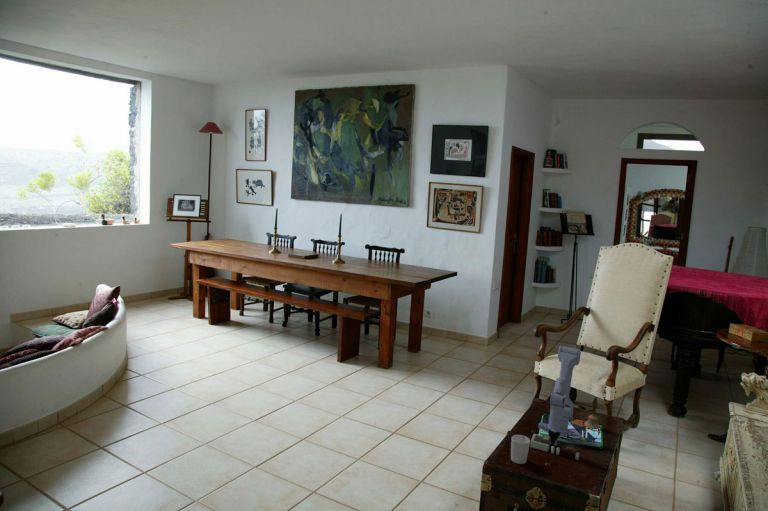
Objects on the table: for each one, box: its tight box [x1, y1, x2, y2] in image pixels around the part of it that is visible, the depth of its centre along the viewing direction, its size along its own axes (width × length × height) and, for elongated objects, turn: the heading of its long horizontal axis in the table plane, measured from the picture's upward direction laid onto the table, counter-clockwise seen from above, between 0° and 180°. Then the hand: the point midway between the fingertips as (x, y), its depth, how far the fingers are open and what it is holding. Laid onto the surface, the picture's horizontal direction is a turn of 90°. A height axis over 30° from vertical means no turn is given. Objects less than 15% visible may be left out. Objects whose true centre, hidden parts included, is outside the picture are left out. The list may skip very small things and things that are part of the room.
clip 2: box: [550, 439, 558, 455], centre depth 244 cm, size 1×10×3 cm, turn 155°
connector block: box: [540, 435, 551, 451], centre depth 246 cm, size 4×4×4 cm
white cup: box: [510, 434, 531, 465], centre depth 232 cm, size 8×8×10 cm
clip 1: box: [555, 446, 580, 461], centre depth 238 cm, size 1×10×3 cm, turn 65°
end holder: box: [529, 433, 549, 452], centre depth 247 cm, size 8×8×3 cm
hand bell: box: [583, 397, 601, 430], centre depth 269 cm, size 8×8×16 cm
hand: (552, 445), depth 244 cm, fingers closed
